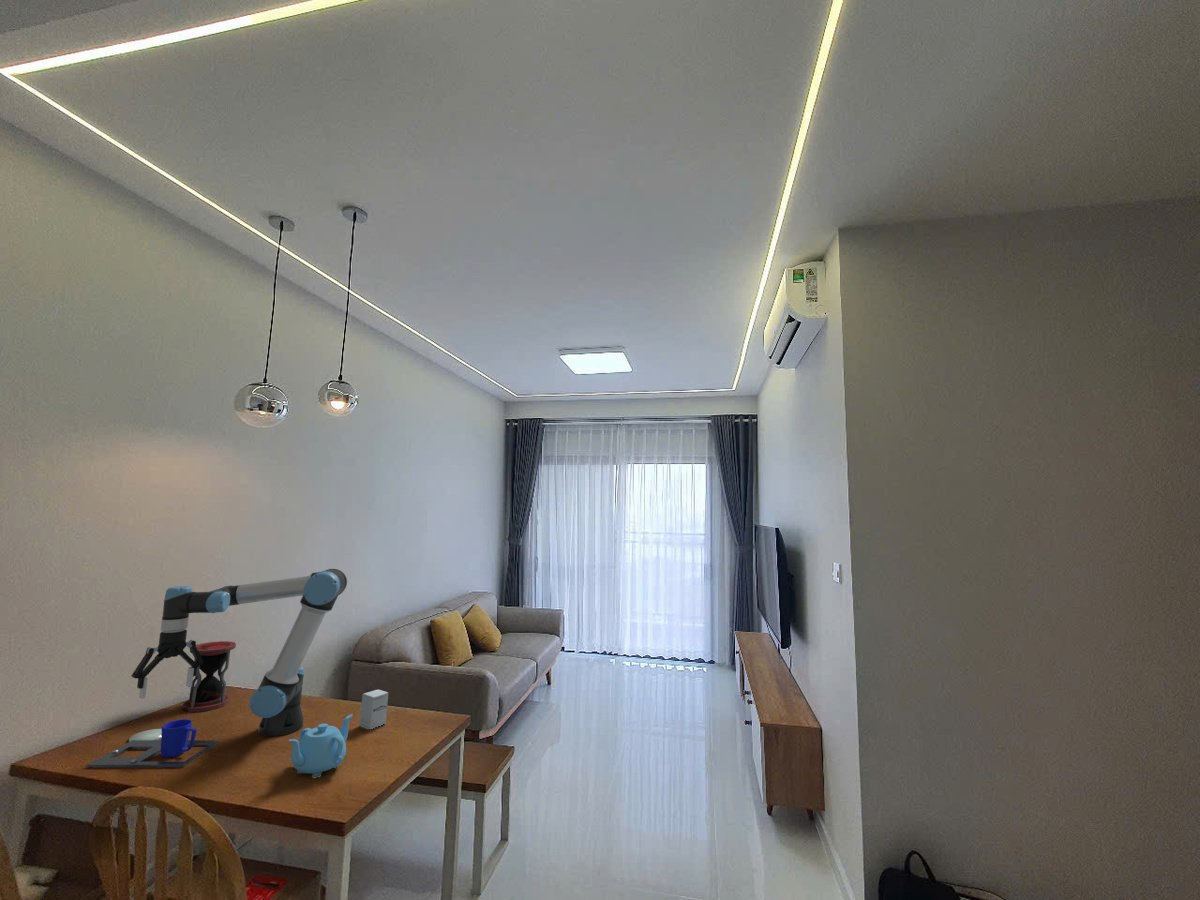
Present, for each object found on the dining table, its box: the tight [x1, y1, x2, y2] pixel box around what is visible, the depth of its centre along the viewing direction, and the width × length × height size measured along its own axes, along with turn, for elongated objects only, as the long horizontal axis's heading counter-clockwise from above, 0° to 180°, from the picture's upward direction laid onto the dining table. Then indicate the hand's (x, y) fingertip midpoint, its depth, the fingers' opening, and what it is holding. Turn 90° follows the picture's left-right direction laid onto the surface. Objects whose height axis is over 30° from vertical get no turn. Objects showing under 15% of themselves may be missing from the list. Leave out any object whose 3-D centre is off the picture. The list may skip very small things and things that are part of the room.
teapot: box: [287, 713, 354, 777], centre depth 170 cm, size 16×20×14 cm
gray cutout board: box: [85, 739, 221, 769], centre depth 174 cm, size 30×18×1 cm, turn 95°
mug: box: [160, 718, 198, 758], centre depth 175 cm, size 8×12×10 cm
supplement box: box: [359, 689, 389, 730], centre depth 204 cm, size 7×7×13 cm
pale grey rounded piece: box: [128, 728, 162, 742], centre depth 187 cm, size 11×11×1 cm
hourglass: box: [181, 640, 237, 713], centre depth 220 cm, size 16×16×25 cm
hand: (166, 691), depth 179 cm, fingers open, 13 cm apart
